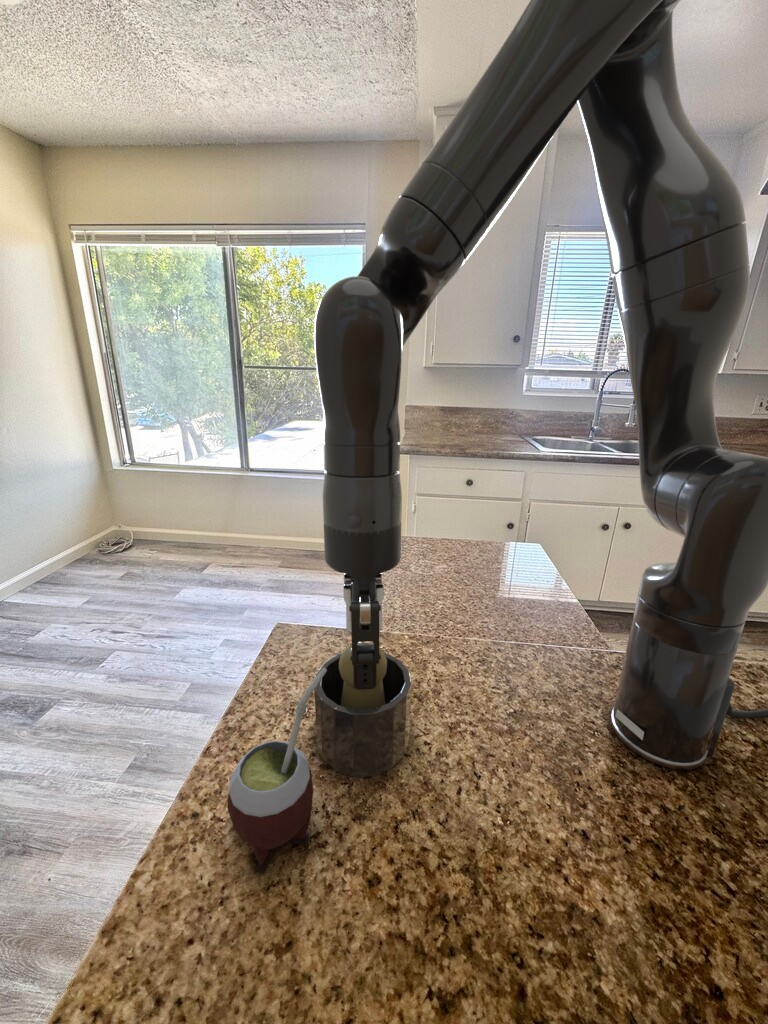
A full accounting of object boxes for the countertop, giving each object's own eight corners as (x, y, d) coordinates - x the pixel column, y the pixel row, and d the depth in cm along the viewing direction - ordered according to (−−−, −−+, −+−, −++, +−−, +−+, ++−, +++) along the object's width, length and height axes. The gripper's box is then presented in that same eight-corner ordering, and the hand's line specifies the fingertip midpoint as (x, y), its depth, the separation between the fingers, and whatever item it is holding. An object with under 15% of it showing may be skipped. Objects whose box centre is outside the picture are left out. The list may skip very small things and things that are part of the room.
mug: (414, 774, 43) (417, 711, 41) (313, 780, 43) (310, 716, 40) (399, 682, 57) (401, 631, 54) (322, 685, 56) (320, 633, 54)
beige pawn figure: (383, 760, 44) (385, 672, 41) (329, 750, 46) (326, 664, 42) (393, 717, 50) (395, 638, 47) (345, 709, 51) (343, 631, 48)
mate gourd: (217, 869, 35) (196, 723, 30) (260, 784, 42) (248, 656, 38) (303, 887, 34) (294, 738, 29) (331, 796, 41) (328, 666, 37)
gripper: (411, 542, 34) (406, 706, 38) (394, 496, 47) (392, 622, 52) (317, 543, 33) (324, 710, 38) (327, 497, 47) (331, 624, 52)
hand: (363, 659), depth 45 cm, fingers open, 8 cm apart
